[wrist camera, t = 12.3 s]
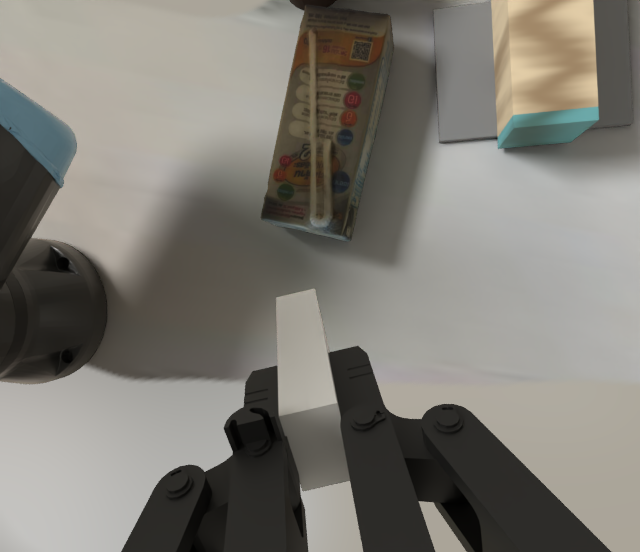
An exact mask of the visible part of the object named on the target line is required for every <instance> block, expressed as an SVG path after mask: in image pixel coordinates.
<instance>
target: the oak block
mask: <svg viewBox="0 0 640 552" xmlns="http://www.w3.org/2000/svg"><path fill="white" fill-rule="evenodd" d="M491 9H492V30H493V51H494V72H495V93H496V114H497V136H498V149H500V148H511V147H523V146H534V145H545V144H557V143H568V142H572V141H573V140H574V139H575V138H577V137H578V136H579V135H580V134H582V133H583V132H584V131H586V130H587V129H588V128H589V127H591V126H592V125H593V124H594V123H596V122H597V121H598V120H599V109H598V88H597V67H596V47H595V26H594V5H593V0H491Z"/></svg>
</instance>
